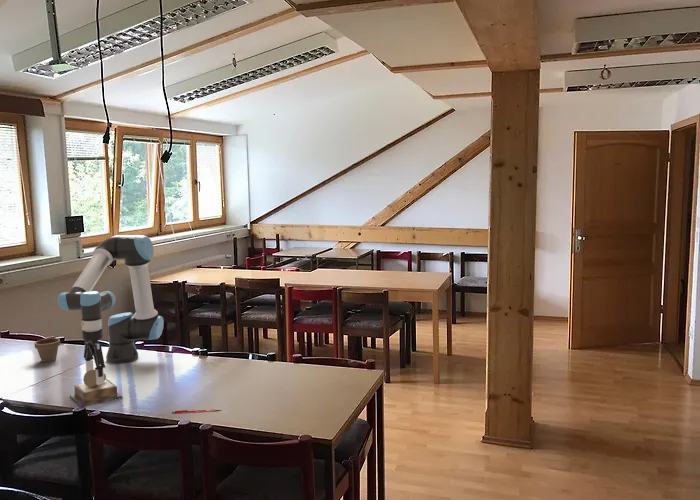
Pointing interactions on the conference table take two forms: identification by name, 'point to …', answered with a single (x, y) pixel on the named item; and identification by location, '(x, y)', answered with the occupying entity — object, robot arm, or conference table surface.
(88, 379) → the beige stepped cylinder
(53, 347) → the flower pot
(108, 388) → the plinth
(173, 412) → the pen
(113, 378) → the conference table surface
